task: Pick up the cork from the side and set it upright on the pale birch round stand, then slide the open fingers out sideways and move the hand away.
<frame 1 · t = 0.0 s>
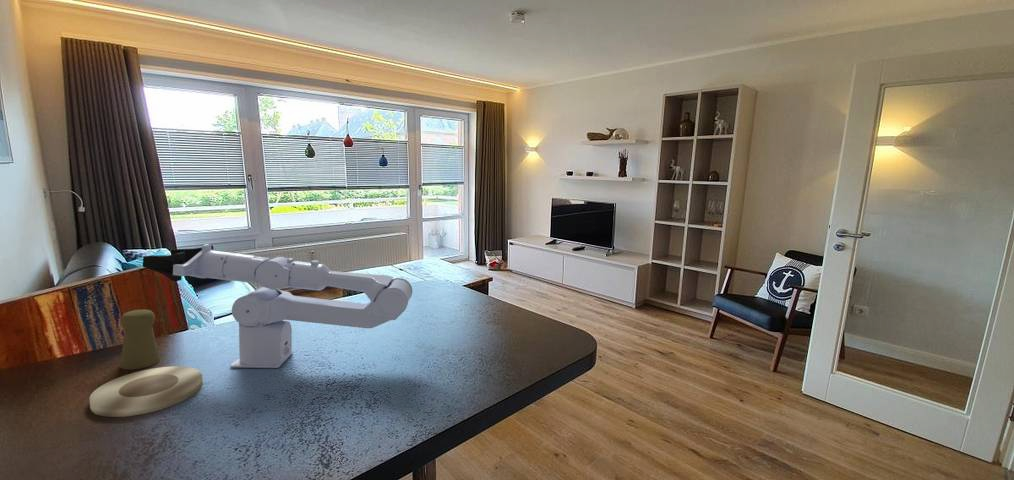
hand: (158, 257, 82), 22 cm above the counter, tool horizontal, fingers open, 7 cm apart
birch stand: (150, 393, 72), on the counter
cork: (140, 363, 83), on the counter
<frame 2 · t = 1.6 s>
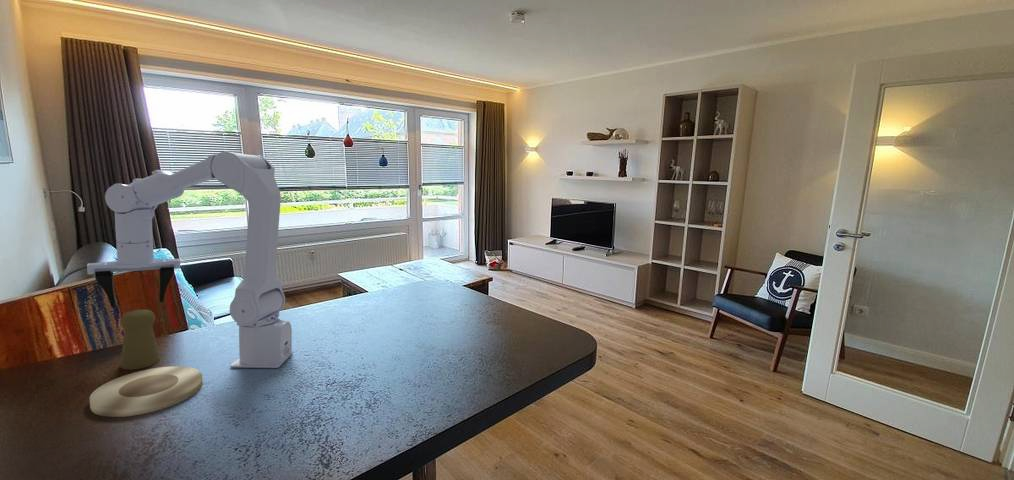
hand: (138, 303, 87), 10 cm above the counter, tool pointing down, fingers open, 7 cm apart
nothing on the counter moved.
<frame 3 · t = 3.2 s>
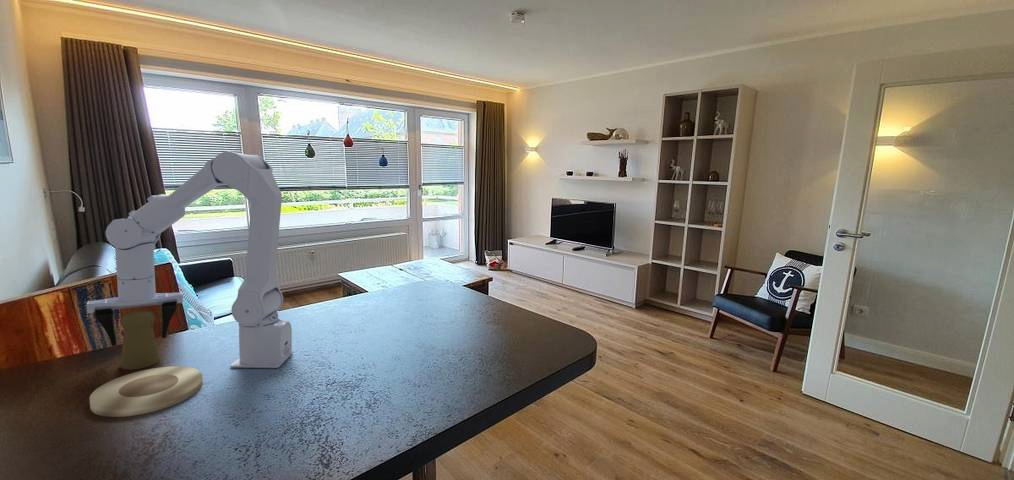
hand: (139, 340, 84), 4 cm above the counter, tool pointing down, fingers open, 7 cm apart
nothing on the counter moved.
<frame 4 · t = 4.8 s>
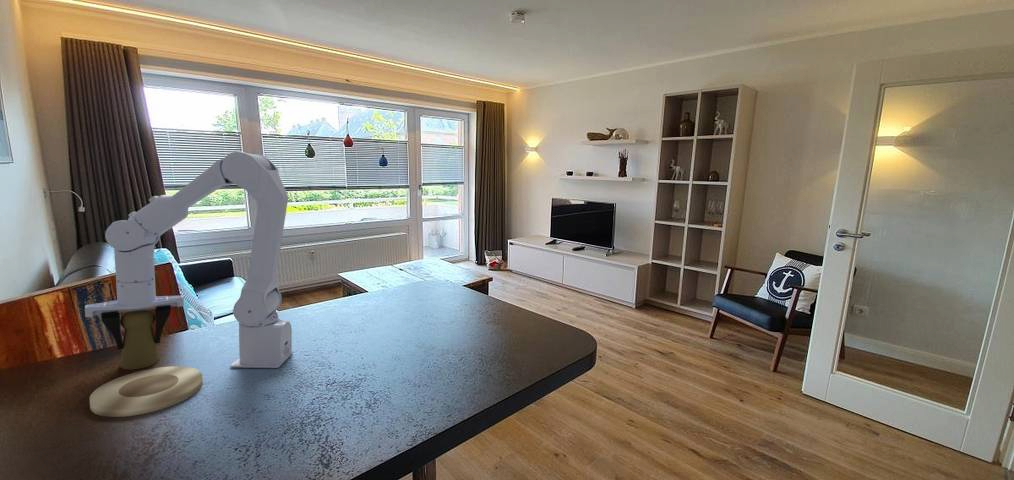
hand: (139, 344, 82), 4 cm above the counter, tool pointing down, fingers closed on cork, 5 cm apart
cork: (140, 363, 83), on the counter, touching gripper
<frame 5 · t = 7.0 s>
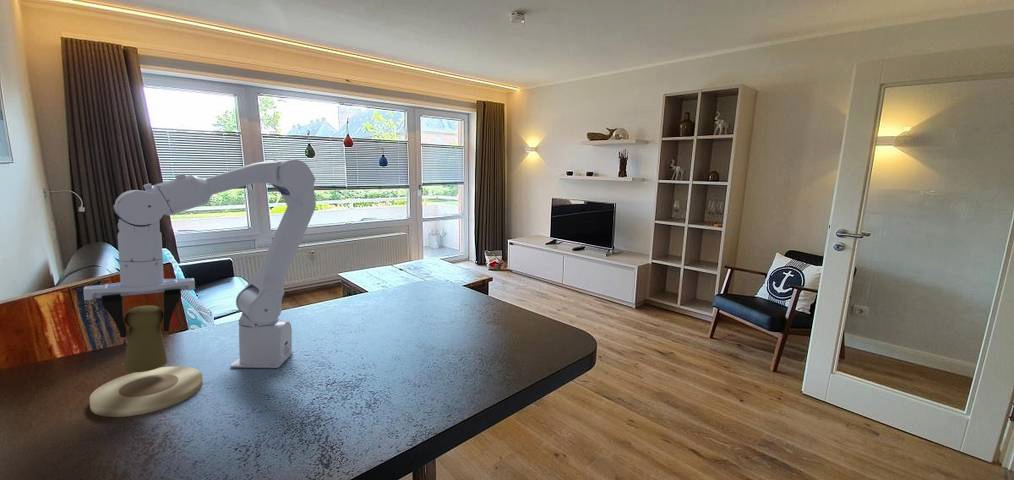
hand: (145, 332, 73), 10 cm above the counter, tool pointing down, fingers closed on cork, 5 cm apart
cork: (145, 365, 74), point 4 cm above the counter, touching gripper
when the fingers open (7 cm above the counter, at t = 9.2 s): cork stays where it is, resting on birch stand.
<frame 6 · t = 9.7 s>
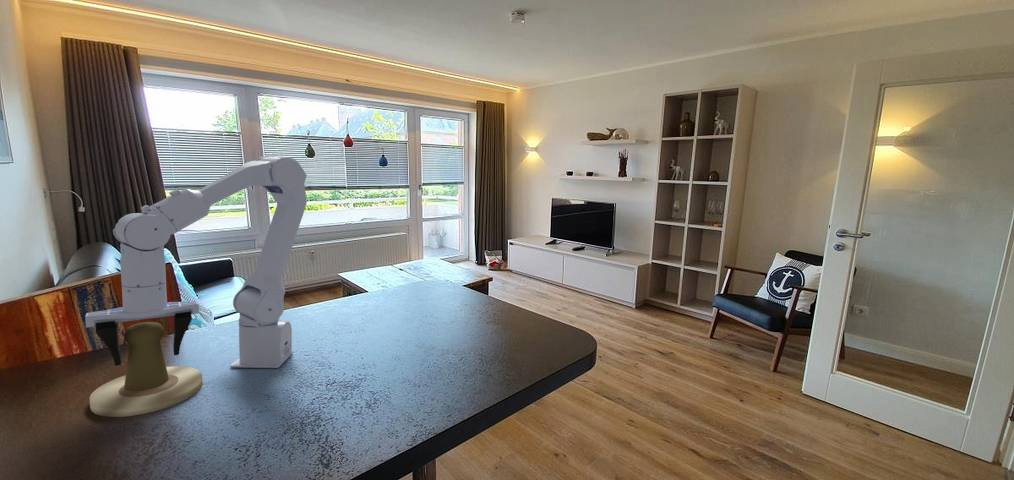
hand: (148, 358, 71), 7 cm above the counter, tool pointing down, fingers open, 7 cm apart
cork: (147, 383, 73), point 1 cm above the counter, touching birch stand
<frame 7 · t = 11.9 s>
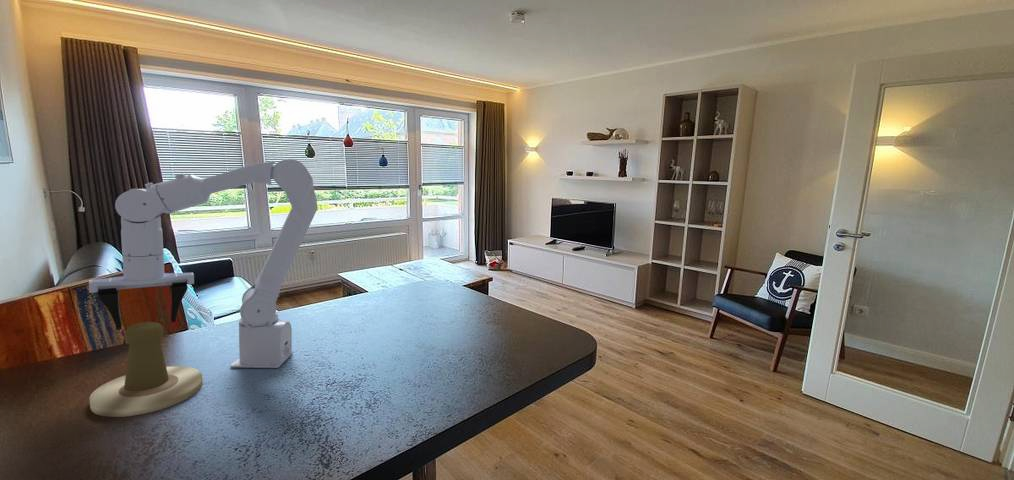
hand: (147, 324, 77), 10 cm above the counter, tool pointing down, fingers open, 7 cm apart
nothing on the counter moved.
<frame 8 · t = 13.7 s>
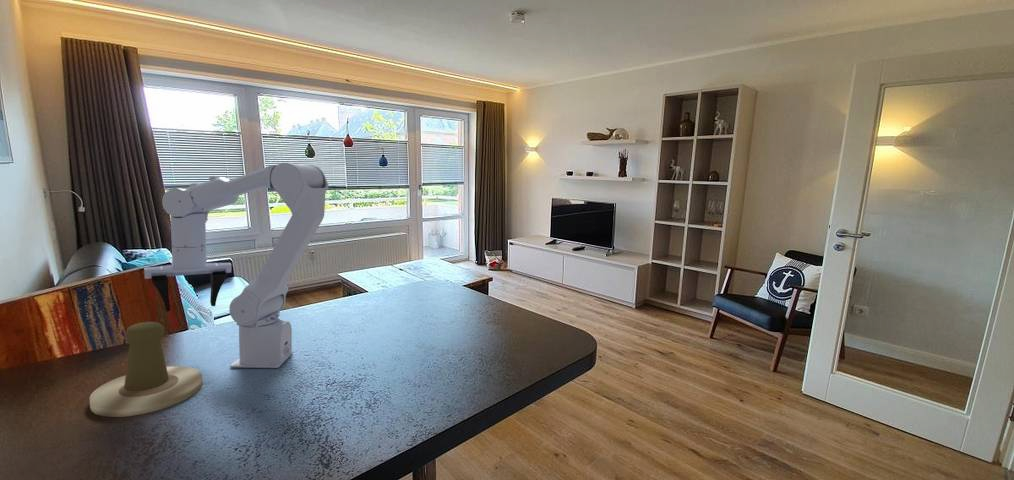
hand: (191, 307, 87), 10 cm above the counter, tool pointing down, fingers open, 7 cm apart
nothing on the counter moved.
at the end: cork inside the target area on the birch stand (1.3 cm from its centre), point 1.4 cm above the birch stand's base; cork tilted 1°; the gripper is holding nothing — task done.
